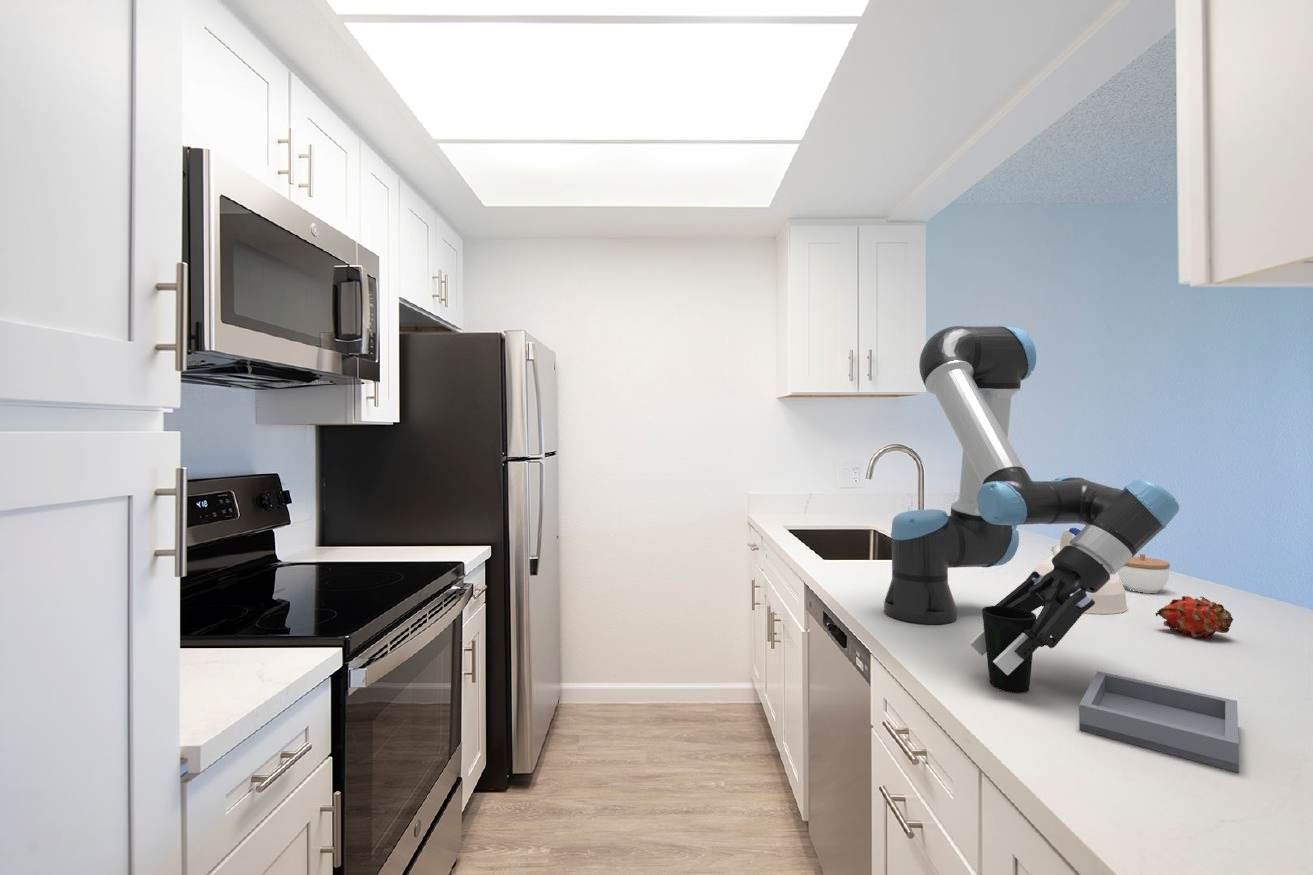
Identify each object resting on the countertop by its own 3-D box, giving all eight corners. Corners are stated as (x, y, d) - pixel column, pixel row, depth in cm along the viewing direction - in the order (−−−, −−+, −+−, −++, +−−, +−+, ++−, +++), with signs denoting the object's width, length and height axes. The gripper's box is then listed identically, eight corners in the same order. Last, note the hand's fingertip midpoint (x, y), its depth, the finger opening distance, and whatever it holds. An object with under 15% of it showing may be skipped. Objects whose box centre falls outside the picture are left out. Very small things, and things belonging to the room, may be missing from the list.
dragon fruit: (1241, 650, 119) (1162, 648, 125) (1228, 615, 125) (1154, 614, 131) (1239, 621, 115) (1158, 620, 122) (1226, 587, 121) (1150, 587, 128)
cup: (1045, 697, 95) (1044, 620, 95) (991, 693, 96) (991, 618, 96) (1025, 678, 102) (1025, 606, 102) (976, 674, 104) (975, 604, 104)
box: (1079, 729, 85) (1079, 704, 85) (1097, 693, 96) (1097, 671, 96) (1238, 772, 74) (1238, 743, 74) (1237, 725, 85) (1237, 700, 85)
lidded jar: (1132, 595, 153) (1131, 558, 153) (1108, 584, 164) (1107, 549, 164) (1180, 596, 151) (1180, 559, 151) (1152, 586, 162) (1152, 550, 162)
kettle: (1101, 593, 155) (1101, 522, 155) (1146, 617, 135) (1146, 536, 135) (1013, 589, 160) (1013, 521, 160) (1044, 612, 140) (1044, 533, 140)
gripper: (1154, 593, 88) (1040, 702, 89) (1067, 563, 109) (974, 652, 110) (1116, 556, 89) (1002, 666, 89) (1036, 533, 109) (944, 622, 110)
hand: (987, 658), depth 100 cm, fingers closed on cup, 8 cm apart
